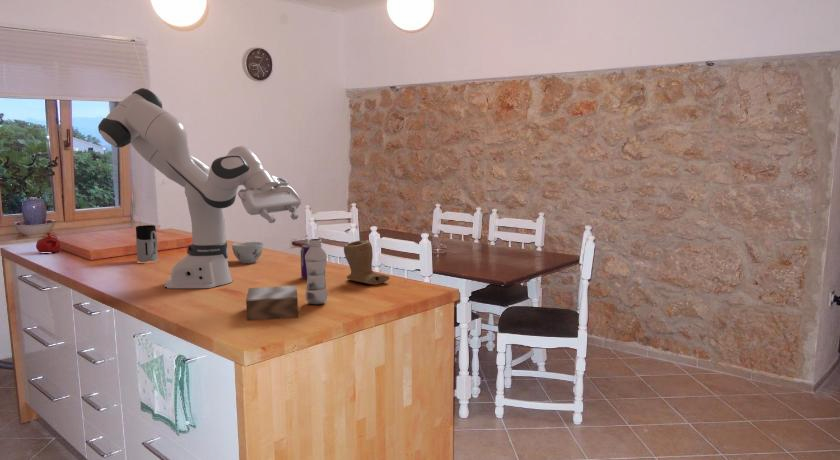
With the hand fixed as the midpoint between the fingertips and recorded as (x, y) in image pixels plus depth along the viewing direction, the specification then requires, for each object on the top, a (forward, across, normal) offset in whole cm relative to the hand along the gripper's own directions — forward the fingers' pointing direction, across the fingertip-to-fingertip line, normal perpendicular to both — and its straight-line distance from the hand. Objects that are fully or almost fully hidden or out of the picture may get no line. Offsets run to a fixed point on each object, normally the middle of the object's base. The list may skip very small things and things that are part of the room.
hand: (284, 219), depth 192 cm
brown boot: (+22, +31, +15) cm, 41 cm away
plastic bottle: (+27, 0, +10) cm, 28 cm away
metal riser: (+24, -14, +12) cm, 30 cm away
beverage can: (+7, +26, +30) cm, 40 cm away
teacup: (-25, +32, +61) cm, 73 cm away
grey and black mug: (-48, +8, +83) cm, 96 cm away
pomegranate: (-91, -5, +125) cm, 155 cm away
